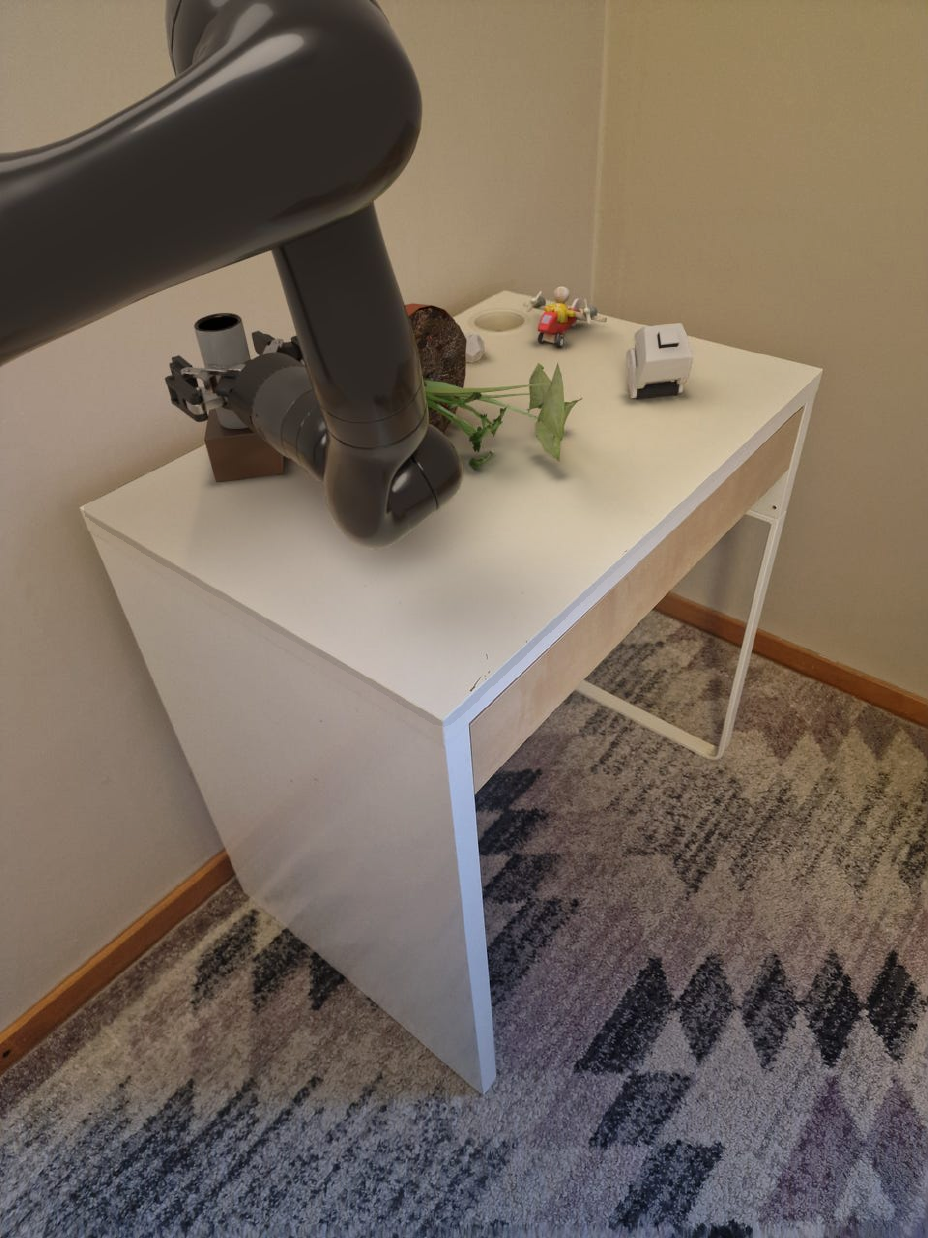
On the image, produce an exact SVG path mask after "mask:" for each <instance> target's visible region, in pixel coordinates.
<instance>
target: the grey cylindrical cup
mask: <svg viewBox="0 0 928 1238" xmlns="http://www.w3.org/2000/svg"><path fill="white" fill-rule="evenodd" d="M193 328H194V332H195V337H196V339H197V344H198V348H199V350H200V351H199V352H200V355H201V358H202V362H203V366H204V367H205V366H207V365H208V364H217V365H230V366H232V365H233V364H235V363H236V364H242V363H244V362H247V361H249V360H252V357H251V354H250V350H249V344H248V340H247V335H246V332H245V327H244V323H243V319H242V316H240V315H239V314H236V313H231V312H219V313H218V312H217V313H213V314H209V315H206V316H203V317H201V318H199V319H197V320H196V321H195V322H194V325H193ZM220 378H221V376H216V379H217V382H219V380H220ZM216 411H217V415H218V419H219V422H220V424H221V425H222V426H223V427H225V428H229V429H243V428H248V427H247V426H246V425H245V424H244V423H243V422H242V421H241V420H240V419H239V417H238V416H237V415H236V414H235V412H234V411H232V410H227V409H224V408H222V407H221V406H220V407H217V408H216Z"/></svg>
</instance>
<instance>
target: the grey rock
mask: <svg viewBox="0 0 928 1238" xmlns="http://www.w3.org/2000/svg"><path fill="white" fill-rule="evenodd" d="M464 336H465V338H466V340H467V342H466V353H465V354H466V363H470V364H474V363H476V362H478V361H481V359H482V357H483V356H484V354H485V352H486V347H485V341H484V340H483V338H482V337H481V336H480V334H479V333H474V332H467V333H464Z"/></svg>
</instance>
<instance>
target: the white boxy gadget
mask: <svg viewBox="0 0 928 1238" xmlns="http://www.w3.org/2000/svg"><path fill="white" fill-rule="evenodd" d="M625 357H626V360H625V361H626V375H627V384H628V389H629V395H630V396H629V397H630V398H631V399H636V400H641V399H649V398H661V397H670V396H678V395H679V394H681V393H683V391H684V385H685V384H686V383H687V381H688V379H689V378H690V374H691V371H692V367H693V363H694V353H693V350H692V348H691V345H690V342H689V338H688V334H687V332H686V329H685V327H684V325H683V323H682V322H675V323H664V324H656V325H648V326H647V325H646V326H643V327H641V328H639V329H638V330H636V331H635V333H634V348H629V349H628V350H627V351H626V356H625Z"/></svg>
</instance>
